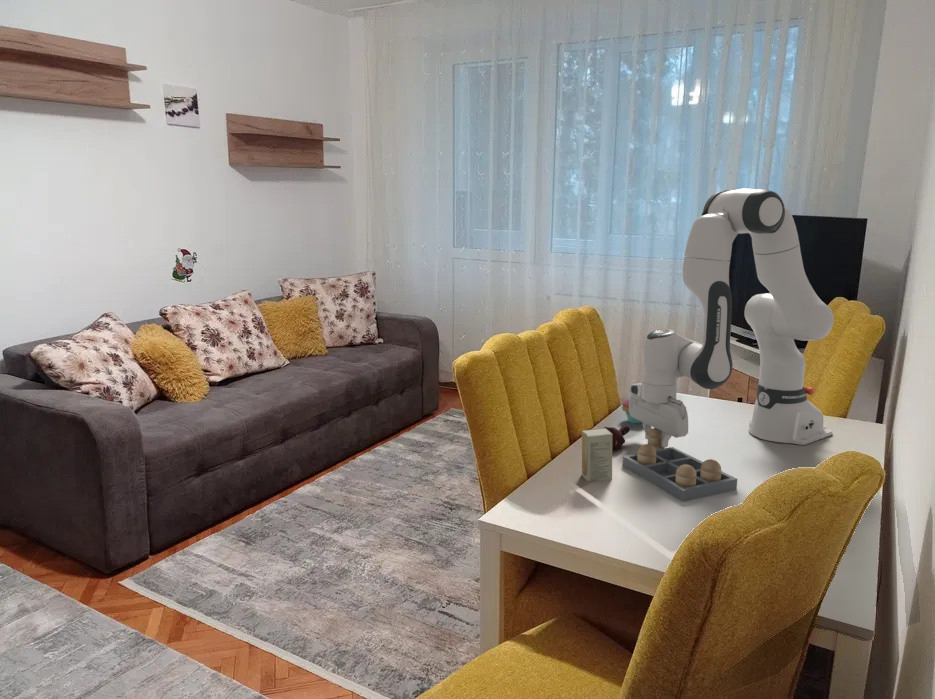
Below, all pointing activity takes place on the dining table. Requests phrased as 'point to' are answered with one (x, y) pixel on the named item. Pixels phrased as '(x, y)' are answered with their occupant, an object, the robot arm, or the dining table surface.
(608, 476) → the skincare box
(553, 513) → the dining table surface
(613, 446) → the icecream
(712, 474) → the seated egg
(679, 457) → the egg carton
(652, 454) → the seated egg
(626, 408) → the cupcake
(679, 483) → the seated egg
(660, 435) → the wooden egg
